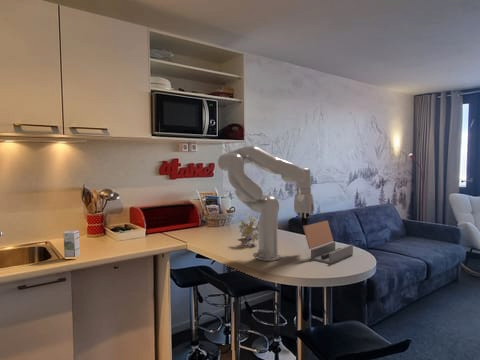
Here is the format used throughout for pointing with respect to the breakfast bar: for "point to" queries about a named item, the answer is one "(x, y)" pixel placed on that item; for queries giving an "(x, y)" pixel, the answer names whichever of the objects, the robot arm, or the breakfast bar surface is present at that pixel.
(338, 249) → the grey plastic bar
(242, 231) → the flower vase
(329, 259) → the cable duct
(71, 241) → the syrup box
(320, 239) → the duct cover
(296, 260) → the breakfast bar surface
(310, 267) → the breakfast bar surface
